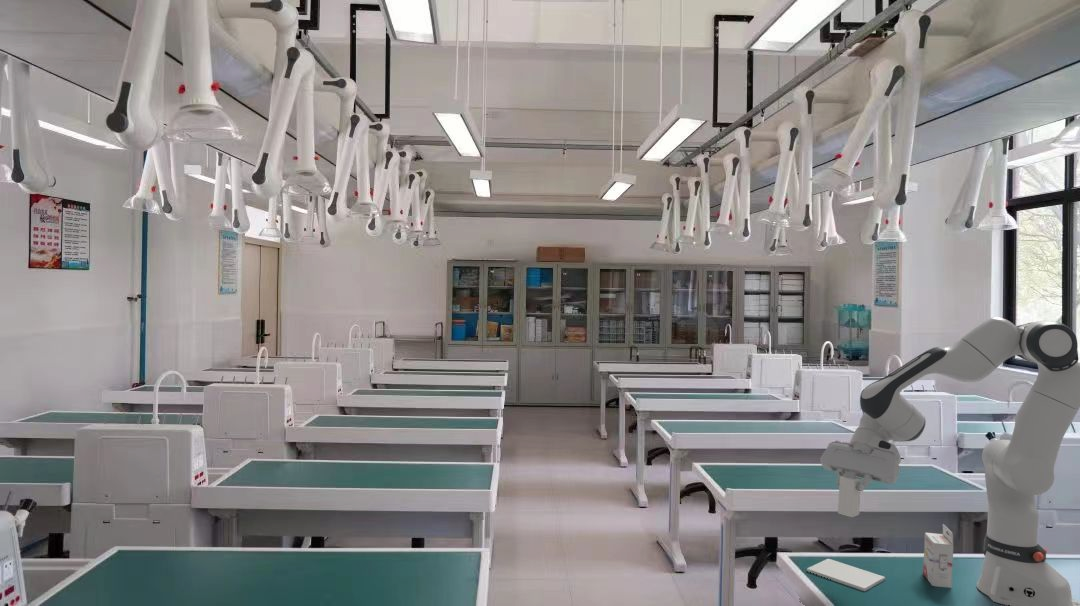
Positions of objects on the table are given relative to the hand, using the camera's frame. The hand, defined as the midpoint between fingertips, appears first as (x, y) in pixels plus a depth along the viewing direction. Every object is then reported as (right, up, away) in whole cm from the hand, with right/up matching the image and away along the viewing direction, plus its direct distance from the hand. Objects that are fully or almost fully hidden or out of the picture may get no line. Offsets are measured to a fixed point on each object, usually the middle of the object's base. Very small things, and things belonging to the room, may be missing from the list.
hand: (848, 487), depth 197 cm
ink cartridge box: (+24, -25, 0) cm, 35 cm away
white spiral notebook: (0, -24, +1) cm, 24 cm away
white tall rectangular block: (0, -7, +1) cm, 7 cm away
